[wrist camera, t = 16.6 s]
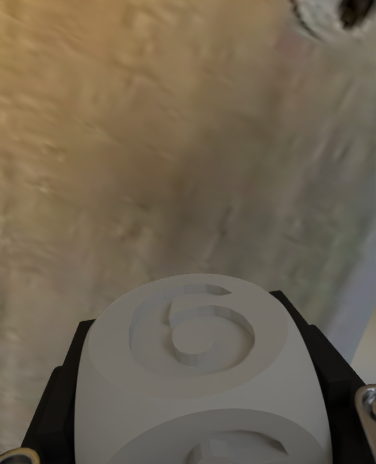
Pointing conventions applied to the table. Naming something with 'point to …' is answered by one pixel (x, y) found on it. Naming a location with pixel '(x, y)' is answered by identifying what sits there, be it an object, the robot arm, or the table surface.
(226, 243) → the table surface
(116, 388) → the die
